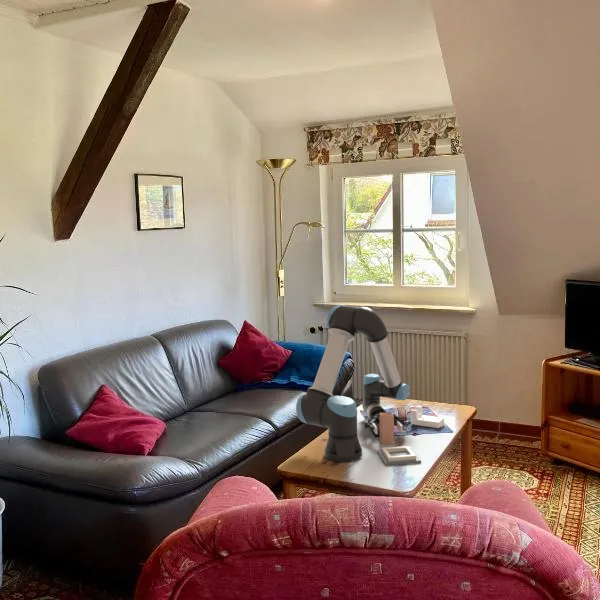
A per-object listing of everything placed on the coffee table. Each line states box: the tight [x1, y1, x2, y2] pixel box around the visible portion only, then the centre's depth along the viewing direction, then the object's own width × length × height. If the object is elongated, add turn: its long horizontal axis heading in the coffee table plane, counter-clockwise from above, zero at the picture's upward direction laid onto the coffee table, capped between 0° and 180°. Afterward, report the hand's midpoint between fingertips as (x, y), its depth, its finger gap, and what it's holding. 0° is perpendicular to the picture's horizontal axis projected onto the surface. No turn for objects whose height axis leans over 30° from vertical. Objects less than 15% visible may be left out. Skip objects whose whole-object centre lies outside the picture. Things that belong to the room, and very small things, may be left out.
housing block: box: [379, 411, 395, 445], centre depth 283 cm, size 5×5×12 cm
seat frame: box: [376, 445, 422, 466], centre depth 264 cm, size 14×14×2 cm
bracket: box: [410, 405, 445, 429], centre depth 302 cm, size 13×7×8 cm, turn 60°
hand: (389, 430), depth 278 cm, fingers open, 10 cm apart
